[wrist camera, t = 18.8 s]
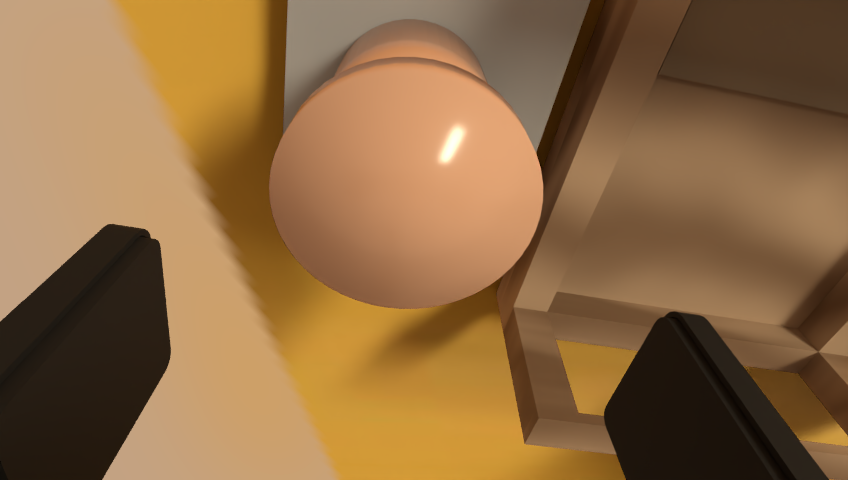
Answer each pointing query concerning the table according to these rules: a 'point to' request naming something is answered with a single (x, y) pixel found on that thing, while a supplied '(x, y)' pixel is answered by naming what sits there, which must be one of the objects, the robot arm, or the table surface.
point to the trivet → (463, 15)
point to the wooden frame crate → (693, 203)
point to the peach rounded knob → (406, 173)
